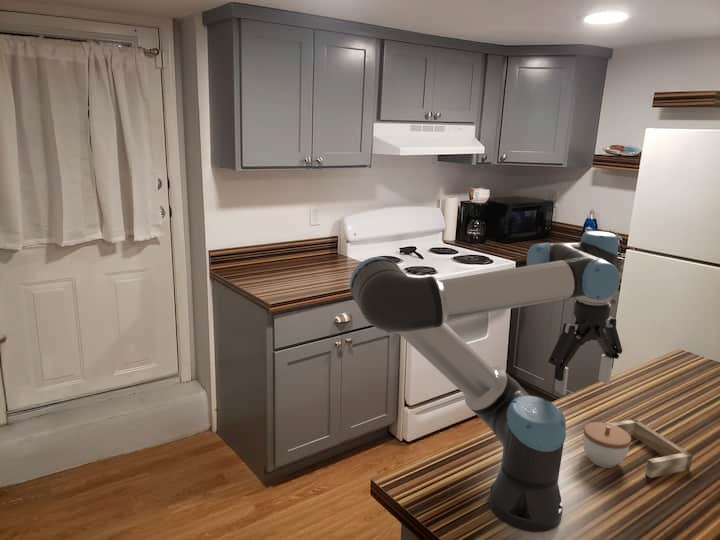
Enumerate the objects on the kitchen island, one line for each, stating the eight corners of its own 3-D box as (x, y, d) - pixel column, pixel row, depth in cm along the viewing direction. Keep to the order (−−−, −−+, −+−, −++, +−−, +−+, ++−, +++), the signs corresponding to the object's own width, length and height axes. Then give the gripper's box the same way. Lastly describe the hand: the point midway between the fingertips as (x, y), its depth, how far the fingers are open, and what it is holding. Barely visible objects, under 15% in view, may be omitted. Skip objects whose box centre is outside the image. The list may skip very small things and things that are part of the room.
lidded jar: (631, 476, 134) (637, 441, 131) (583, 469, 136) (589, 434, 133) (620, 452, 144) (626, 419, 142) (576, 446, 146) (581, 413, 144)
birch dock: (650, 477, 134) (653, 463, 133) (596, 438, 150) (598, 425, 149) (689, 469, 138) (692, 455, 137) (632, 432, 154) (635, 419, 153)
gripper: (562, 312, 118) (552, 404, 123) (646, 298, 128) (634, 384, 133) (537, 302, 125) (529, 389, 130) (619, 290, 135) (608, 371, 140)
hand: (582, 387), depth 132 cm, fingers open, 13 cm apart
